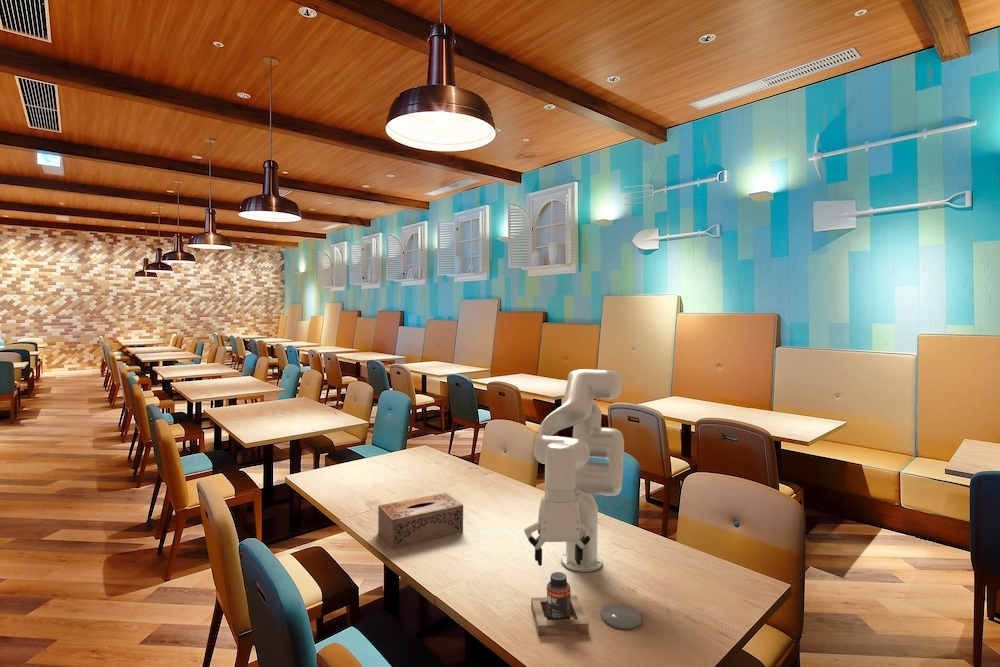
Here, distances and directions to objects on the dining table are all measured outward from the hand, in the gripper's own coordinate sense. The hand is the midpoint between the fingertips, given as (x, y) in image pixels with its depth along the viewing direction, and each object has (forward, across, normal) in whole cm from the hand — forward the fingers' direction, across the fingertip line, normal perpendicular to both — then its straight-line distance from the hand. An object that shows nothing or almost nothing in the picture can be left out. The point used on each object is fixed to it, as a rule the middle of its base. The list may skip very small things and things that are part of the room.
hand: (558, 562), depth 126 cm
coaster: (+15, -16, -1) cm, 22 cm away
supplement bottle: (+15, 0, -1) cm, 15 cm away
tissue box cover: (+14, +38, -55) cm, 68 cm away
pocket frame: (+15, 0, -1) cm, 15 cm away
